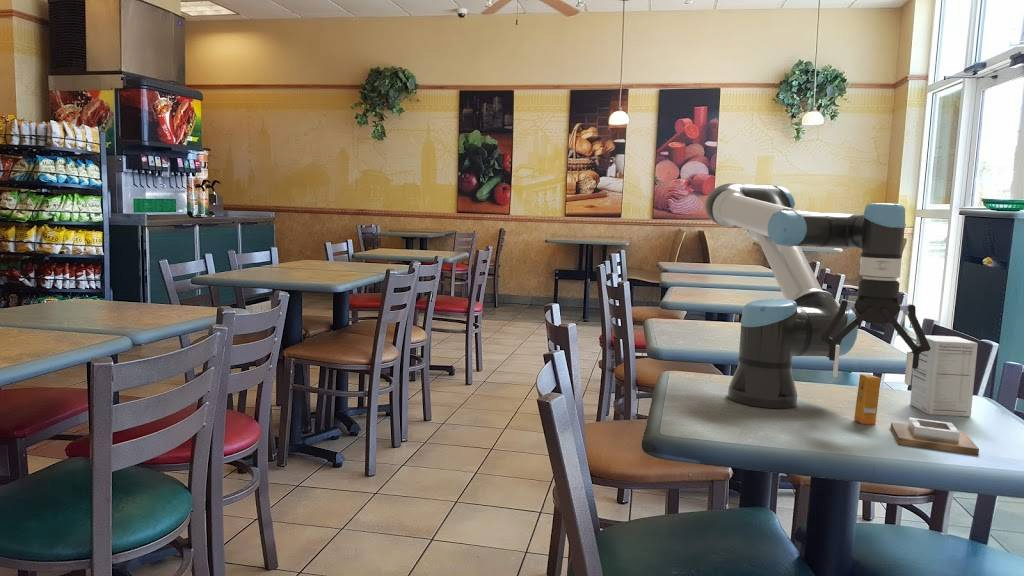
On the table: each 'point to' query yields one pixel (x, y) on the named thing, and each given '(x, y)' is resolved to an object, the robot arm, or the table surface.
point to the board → (933, 441)
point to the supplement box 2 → (945, 376)
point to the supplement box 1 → (867, 399)
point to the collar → (933, 430)
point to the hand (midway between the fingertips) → (870, 380)
